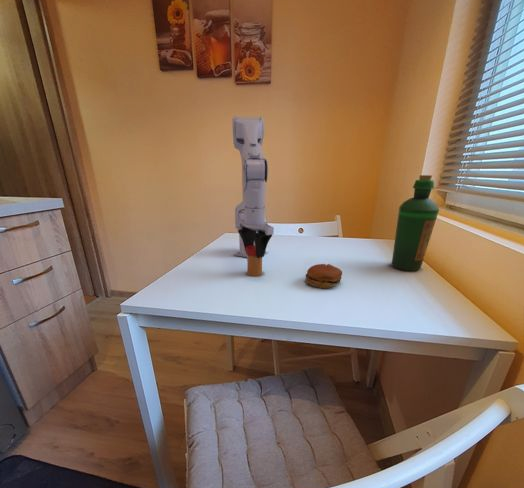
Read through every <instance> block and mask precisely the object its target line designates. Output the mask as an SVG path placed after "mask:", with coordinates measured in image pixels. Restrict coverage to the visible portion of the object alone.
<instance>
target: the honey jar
mask: <svg viewBox="0 0 524 488" xmlns="http://www.w3.org/2000/svg"><path fill="white" fill-rule="evenodd" d="M246 259H247V260H246V262H247V263H246V264H247V265H246V266H247V268H246V269H247V271H246V273H247V275H248V276H251V277H259V276H261V275H263V257H261V258H257V256H249V255H247V257H246Z"/></svg>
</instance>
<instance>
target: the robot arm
mask: <svg viewBox="0 0 524 488" xmlns="http://www.w3.org/2000/svg"><path fill="white" fill-rule="evenodd" d="M231 119H232V120H231V121H232V140H233V141H232V142H233V148H234V149H236V150H238V151H239V155H240V159H241V185H242V186H241V191H242V201H241V202H239V203H238V204H237V205H236V206H235V208H234V212H235V213H234V225H235V229H236V230H237V233H238V237H239V241H238V243H239V251H238V252H236V253H234V256H237V257H241V258H242V257H243V258H247V254H246V247H247V246H250V245H255V247H256V256H257V258H261V257H262V258H264V257H265V254H266V252H267V251H266V250H267V247H268V244H269V242H270V240H271V239H272V237H273V235H274V229H275V227H274V226H271V225H269V224H268V221H266V183H267V182H268V178H269V164H268V159H267V158H266V157H264V151H263V147H262V146H263V143H264V142H263V141H264V137H265V119H264V117H262V116H260V117H254V116H253V117H251V116H250V117H248V116H235V115H234V116H233V117H232V118H231Z"/></svg>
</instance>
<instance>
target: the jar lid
mask: <svg viewBox="0 0 524 488" xmlns="http://www.w3.org/2000/svg"><path fill="white" fill-rule="evenodd" d="M246 254H247V255H249V256H256V247H255V245H250V246H247V247H246Z"/></svg>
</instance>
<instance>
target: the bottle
mask: <svg viewBox="0 0 524 488" xmlns="http://www.w3.org/2000/svg"><path fill="white" fill-rule="evenodd" d="M432 178H433V175H430V174H429V175H428V174H420V175H419V179H416V180H415V181H414V184H413V186H412V189H413V190H414V191H413V197H411V198H408V199H406V200H405V201H403V202H402V203H401V204H400V206H398V207H399V208H398V215H397V221H396V228H395V235H394V242H393V243H394V244H393V252H392V257H391V266H392V267H394V268H396V269H397V270H400V271H406V272H407V271H408V272H413V271H419V270H421V269H422V265H423V262H424V259H425V256H426V253H427V249H428V247H429V243H430V240H431V237H432V233H433V231H434V227H435V224H436V221H437V218H438V216H439V215H438V214H439V212H440V209H439V206H438V204H437V203H436V202H435V201H434V200H433V199H431V198H430V196H431V192H432V190H434V189H435V180H434V179H432Z"/></svg>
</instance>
